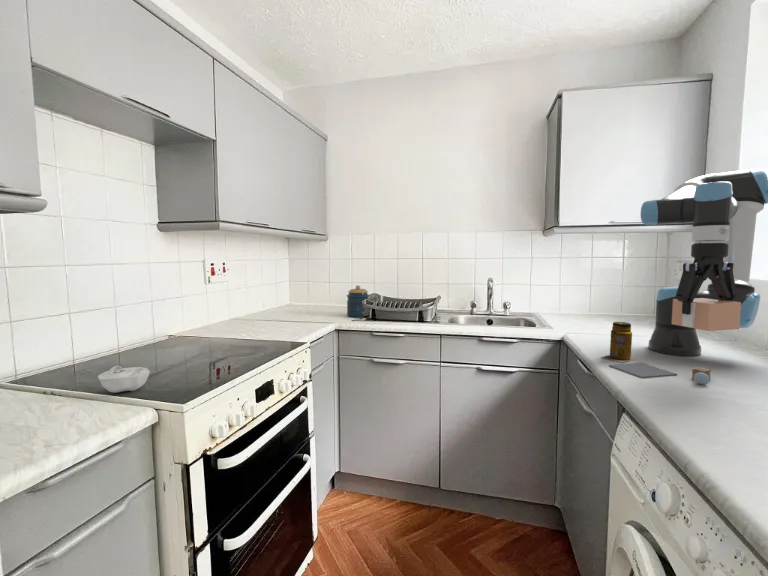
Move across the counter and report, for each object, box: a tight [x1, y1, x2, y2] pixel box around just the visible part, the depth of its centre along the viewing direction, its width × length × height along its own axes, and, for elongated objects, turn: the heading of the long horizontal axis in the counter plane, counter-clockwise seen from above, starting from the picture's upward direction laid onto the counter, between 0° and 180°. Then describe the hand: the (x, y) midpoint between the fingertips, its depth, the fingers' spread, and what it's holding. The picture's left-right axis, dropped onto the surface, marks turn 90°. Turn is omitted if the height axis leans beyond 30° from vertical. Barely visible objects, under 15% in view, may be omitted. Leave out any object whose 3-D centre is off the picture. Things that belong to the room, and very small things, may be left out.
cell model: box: [97, 365, 151, 394], centre depth 102 cm, size 10×12×7 cm
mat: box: [608, 361, 678, 379], centre depth 116 cm, size 12×12×1 cm
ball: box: [693, 372, 710, 386], centre depth 103 cm, size 3×3×3 cm
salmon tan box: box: [672, 298, 741, 332], centre depth 104 cm, size 10×10×7 cm
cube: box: [691, 366, 712, 381], centre depth 107 cm, size 3×3×3 cm
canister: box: [346, 285, 370, 318], centre depth 221 cm, size 13×13×18 cm
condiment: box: [601, 321, 637, 364], centre depth 129 cm, size 7×8×12 cm
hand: (704, 325), depth 104 cm, fingers closed on salmon tan box, 10 cm apart
